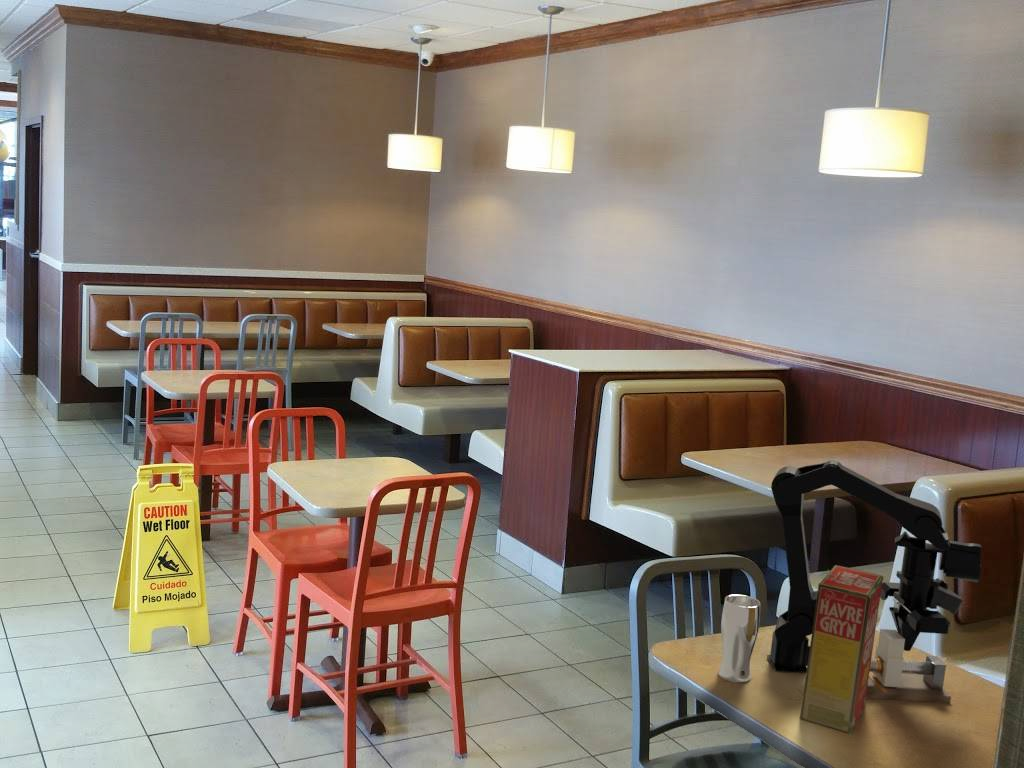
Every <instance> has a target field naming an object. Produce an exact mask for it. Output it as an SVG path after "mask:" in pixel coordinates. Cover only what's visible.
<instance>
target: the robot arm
mask: <svg viewBox="0 0 1024 768" xmlns="http://www.w3.org/2000/svg"><path fill="white" fill-rule="evenodd" d="M771 481H772V482H771V484H770V485H771V487H770V488H771V492H772V496H773V499H774V503H775V505H776V508H777V510H778V514H780V517H781V523H782V524H781V525H782V529H783V538H784V548H785V555H786V564H787V574H788V581H789V582H788V583H789V595H788V605H787V610H786V611H784V612H783V613H782V614H779V616H778V619H777V622H776V625H775V628H774V631H772V638H771V644H770V645H771V646H770V654H768V655H766V658H767V660H768V661H769V663H770V664H771V666H772V667H773V669H774V670H775V671H776V672H789V673H790V672H791V673H807V665H808V658H809V651H810V644H809V640H810V639H809V636H810V635H811V636H812V630H813V623H814V616H815V608H816V601H817V594H818V590H814V588H813V586H812V583H811V577H810V576H811V575H810V568H809V560H808V552H807V551H808V550H807V544H806V535H805V526H804V518H803V508H804V500H805V494H807V493H810V492H814V491H816V490H819V489H821V488H824V487H828V486H834V488H835V487H836V488H837V489H840V490H841V491H843V492H845V493H846V494H849V495H850V496H853V497H855V498H856V499H858V500H860V501H861V502H863V503H865V504H867V505H870V506H871V507H874V508H875V509H877V510H879V511H881V512H883V513H884V514H887V515H888V516H889V517H891V518H892V519H893V520H894V521H895V522H897V524H898V525H900V526H901V527H902V528H903V529H904V530H906V531H903V533H902V534H900V535H898V536H896V537H895V538H894V544H895V546H896V547H904V550H903V555H902V564H901V570H897V571H896V575H895V576H896V577H897V578H898V579H899V582H890V581H884V582H882V588H881V595H880V600H882V601H886V600H888V598H889V597H893V598H892V601H893V606H890V607H888V609H889V612H890V615H891V617H892V620H893V623H894V626H895V630H896V631H897V632H898V633H899V634H900V635H901V636H902V637H903V638H904V639H905V643H904V651H905V652H910V651H911V650H912V649H913V646H914V645H915V643H916V642H917V641H916V640H917V639H918V637H919V635H920V634H921V633H923V634H926V633H927V634H940V635H948V634H949V633H950V629H951V622H950V621H949V620H948V618H946V616H944V615H943V614H942V613H941V612H940V611H938V610H937V609H938V607H939V608H942V609H943V610H945V611H948V612H949V613H951V614H952V615H956V614H957V613H958V610H959V608H960V607H961V605H962V603H963V601H964V599H963V598H962V597H960V596H959V595H958V594H957V593H955V592H953V591H952V590H951V589H949V587H948V586H949V585H948V583H947V582H946V581H945V580H943V579H940V578H938V577H936V579H935V571H936V565H937V557H938V553H939V554H940V555H939V566H938V569H939V571H942V573H943V574H944V576H945V577H948V578H953V579H957V580H958V579H959V580H965V581H970V582H975V583H978V582H979V580H980V577H981V570H982V565H981V560H982V559H981V557H982V554H981V553H982V545H981V544H980V543H975V542H974V543H973V542H971V543H967V542H961V541H957V540H956V541H955V540H950V537H949V533H948V532H946V531H945V528H944V527H943V521H942V515H941V512H940V510H939V508H937V506H935V505H934V504H932V503H929V502H926V501H924V500H921V499H918V498H914V497H911V496H905V495H902V494H899V493H896V492H895V491H892V490H891V489H888V488H886V487H885V486H883V485H881V484H879V483H877V482H875V481H873V480H871V479H869V478H868V477H866V476H863V475H862V474H860V473H858V472H856V471H854V470H852V469H850V468H848V467H846V466H844V465H843V464H842V463H840V461H838V460H831V459H830V460H827V461H825V462H821V463H817V464H809V465H804V466H801V467H795V466H790V465H787V466H784V467H783V466H782V468H780V469H779V470H778V471H777V472H776V474H775V476H774V477H773V479H772V480H771ZM908 532H909V534H911V535H913V536H910V535H909V534H908ZM926 541H928V542H926Z"/></svg>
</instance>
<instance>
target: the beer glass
mask: <svg viewBox="0 0 1024 768" xmlns="http://www.w3.org/2000/svg"><path fill="white" fill-rule="evenodd" d="M760 619H761V602H760V600H758V599H757V598H755V597H752V596H750V595H749V596H748V595H745V594H729V595H726V596H725V597H724V604H723V609H722V614H721V623H720V624H721V625H720V626H721V627H720V629H721V630H720V631H721V632H720V634H721V647H722V650H721V651H722V655H721V660H720V661H721V662H720V665H719V668H718V673H717V674H718V675H719V677H720V678H722V679H723V680H725V681H728V682H731V683H737V682H740V684H741V682H742V683H747V682H749V681H751V678H752V673H751V659H752V655H753V652H754V648H755V644H756V642H757V639H758V638H757V637H758V633H759V628H760V621H761V620H760Z"/></svg>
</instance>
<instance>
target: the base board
mask: <svg viewBox="0 0 1024 768" xmlns="http://www.w3.org/2000/svg"><path fill="white" fill-rule="evenodd" d="M923 677H924V675H920V674H902V675H901V683H900V687H888V686H883V684H882V683H881V682H880V681H879V680H878V679H877V677H876V676H875V675H874V674H873V672H869V678H868V686H867V693H866V699H879V700H897V701H898V700H899V701H915V702H916V701H917V702H931V703H932V702H936V703H951V699H952V696H951V695H950V694H949V693H948V691H946V690H945V688H943V690H932V689H931V688H930V687H929V686H928V685H927V684H926V683H925V682H924V681H923Z"/></svg>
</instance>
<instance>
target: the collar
mask: <svg viewBox="0 0 1024 768" xmlns="http://www.w3.org/2000/svg"><path fill="white" fill-rule="evenodd" d="M904 643H905V639H904V638H903V637H902V636H901V635H900V634H899V633H898V632H897V629H888V628H887V629H884V628H883V629H882V628H880V629H879V635H878V642H877V645H876V648H875V653H874V655H875V656H874V658H881V659H883V660H884V661H885V662H884V670H883V672H882V673H875V672H873V674H874V675H875V676H876V677H877V679H878V680H879V681H880V682H881V683H882V684H883V686H888V687H900V683H901V675H902V668H903V661H905V659H904V657H903V656H904V651H905V650H904Z"/></svg>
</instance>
